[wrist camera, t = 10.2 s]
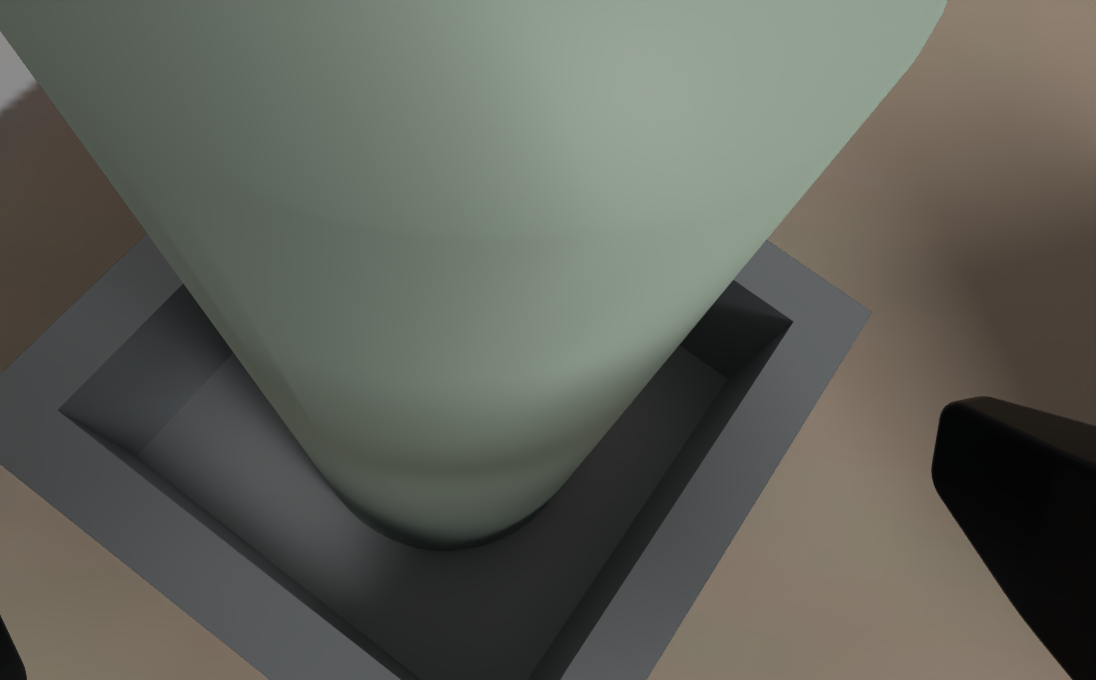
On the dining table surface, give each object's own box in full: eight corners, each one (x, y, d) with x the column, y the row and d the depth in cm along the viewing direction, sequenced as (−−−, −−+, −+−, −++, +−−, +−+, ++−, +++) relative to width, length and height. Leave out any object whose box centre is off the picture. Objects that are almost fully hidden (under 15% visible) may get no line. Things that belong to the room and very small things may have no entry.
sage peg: (619, 488, 16) (1161, 48, 4) (367, 595, 15) (71, 428, 3) (518, 263, 18) (700, -585, 5) (279, 345, 16) (-187, -501, 4)
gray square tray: (782, 378, 18) (872, 312, 14) (500, 818, 15) (522, 882, 11) (408, 115, 19) (401, -12, 15) (65, 473, 16) (-51, 423, 12)
